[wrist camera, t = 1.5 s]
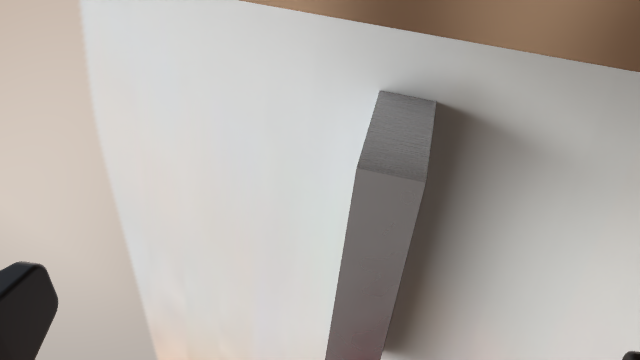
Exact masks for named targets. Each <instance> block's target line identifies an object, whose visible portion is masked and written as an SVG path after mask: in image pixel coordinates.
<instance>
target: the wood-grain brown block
mask: <svg viewBox="0 0 640 360" xmlns="http://www.w3.org/2000/svg"><path fill="white" fill-rule="evenodd" d="M240 1H246V2H252V3H257V4H263V5H268V6H274V7H279V8H285V9H291V10H296V11H302V12H307V13H313V14H318V15H324V16H330V17H335V18H341V19H346V20H352V21H357V22H363V23H369V24H374V25H380V26H385V27H391V28H396V29H402V30H407V31H413V32H419V33H424V34H430V35H435V36H441V37H446V38H452V39H458V40H463V41H469V42H474V43H480V44H485V45H491V46H497V47H502V48H508V49H513V50H519V51H524V52H530V53H535V54H541V55H547V56H552V57H558V58H563V59H569V60H574V61H580V62H586V63H591V64H597V65H602V66H608V67H613V68H619V69H625V70H630V71H636V72H640V0H240Z"/></svg>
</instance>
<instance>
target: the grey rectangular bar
mask: <svg viewBox="0 0 640 360" xmlns="http://www.w3.org/2000/svg"><path fill="white" fill-rule="evenodd" d="M435 109H436V101H431V100H426V99H421V98H416V97H410V96H405V95H400V94H395V93H390V92H384V91H380V92H379V95H378V98H377V102H376V105H375V108H374V112H373V115H372V118H371V122H370V125H369V128H368V132H367V135H366V139H365V142H364V145H363V149H362V152H361V155H360V159H359V162H358V165H357V169H356V175H355V181H354V187H353V193H352V199H351V205H350V211H349V218H348V224H347V230H346V236H345V242H344V248H343V254H342V260H341V266H340V272H339V278H338V285H337V291H336V297H335V303H334V309H333V315H332V321H331V327H330V333H329V339H328V345H327V352H326V358H325V360H380V359H381V355H382V351H383V347H384V343H385V339H386V335H387V332H388V328H389V324H390V320H391V316H392V312H393V308H394V304H395V301H396V297H397V293H398V289H399V285H400V281H401V277H402V273H403V269H404V266H405V262H406V258H407V254H408V250H409V246H410V242H411V238H412V235H413V231H414V227H415V223H416V219H417V215H418V211H419V207H420V204H421V200H422V196H423V192H424V188H425V184H426V178H427V170H428V163H429V155H430V147H431V140H432V132H433V125H434V117H435Z"/></svg>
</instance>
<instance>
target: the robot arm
mask: <svg viewBox="0 0 640 360" xmlns="http://www.w3.org/2000/svg"><path fill="white" fill-rule="evenodd" d="M57 308H58V297H57V294H56V292H55V289H54V287H53V284H52V282H51V279H50V277H49V274H48V272H47V270H46V268H45V267H44V266H43V265H41V264H37V263H30V262H16V263H14V264H12V265H10V266H8V267H6V268H5V269H3V270H1V271H0V360H35V358H36V355H37V354H38V351H39V349H40V347H41V345H42V343H43V340H44V338H45V336H46V334H47V332H48V330H49V327H50V325H51V323H52V321H53V319H54V317H55V314H56V312H57ZM622 360H640V352H636V351H629V352H627V353H626V354H625V355H624V357H623V359H622Z"/></svg>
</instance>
